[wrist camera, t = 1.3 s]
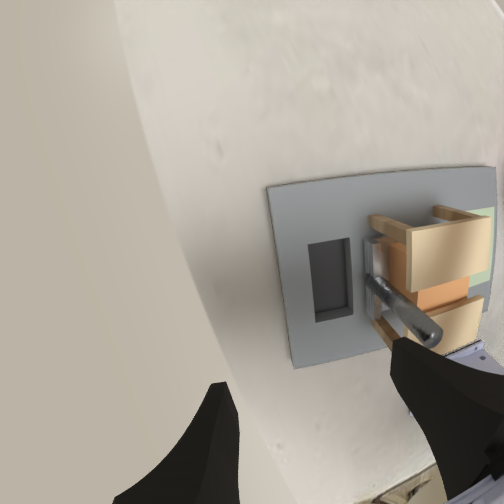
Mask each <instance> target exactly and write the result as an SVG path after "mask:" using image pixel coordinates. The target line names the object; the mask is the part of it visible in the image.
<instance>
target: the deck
mask: <svg viewBox="0 0 504 504" xmlns="http://www.w3.org/2000/svg"><path fill="white" fill-rule="evenodd" d="M266 189H267V195H268V201H269V207H270V213H271V220H272V226H273V232H274V239H275V245H276V252H277V259H278V265H279V272H280V279H281V286H282V293H283V300H284V307H285V315H286V322H287V329H288V337H289V344H290V352H291V359H292V363H293V367H294V369H298V368H303V367H308V366H313V365H318V364H323V363H327V362H332V361H336V360H340V359H344V358H348V357H352V356H356V355H360V354H364V353H368V352H372V351H375V350H379V349H382V348H386V347H388V346H387V345H386V344H385V342H384V341H383V340H382V338H381V337H380V336H379V334H378V333H377V332H376V330H375V329H374V328H373V326H372V325H371V317H370V316H369V315H368V314H367V312H366V284H365V282H364V278H365V255H364V239H366V238H372V237H377V236H383V235H384V234H383V233H381V232H379V231H377V230H375V229H373V228H371V227H369V220H368V215H373V214H380V215H383V216H386V217H388V218H391V219H394V220H396V221H399V222H401V223H404V224H407V225H409V226H412V227H414V228H417V227H422V226H428V225H434V224H439V223H445V222H449V221H446V220H443V219H440V218H437V217H434V216H433V206H435V205H443V206H447V207H451V208H455V209H459V210H462V211H466V212H470V213H473V214H477V215H480V216H484V215H486V216H489V217H491V239H490V254H489V265H488V270H485V271H483V272H480V273H476V274H473V275H470V280H469V288H468V296H467V299H468V298H471V297H473V296H476V295H481V296H482V297H484V302H483V308H482V313H483V312H486V311H487V310H488V305H489V299H490V293H491V286H492V279H493V271H494V262H495V251H496V236H497V181H496V167H489V166H473V167H450V168H432V169H417V170H404V171H392V172H382V173H371V174H362V175H353V176H344V177H336V178H328V179H320V180H312V181H305V182H298V183H291V184H284V185H278V186H271V187H266ZM381 315H382V316H383V317H384V318H385V319H386V320H387V322H388V323H389V324H390V325H391V326H392V327H393V329H394V330H395V331H396V332H397V333H398V334H399V336H400V337H401V338H402V337H403V326H404V324H403V323H402V322H401V321H400V320H399V319H398V317H397V316H396V315H395V314H394V313H393V312H392V311H391V310H390V309H389V310H385V311H381Z"/></svg>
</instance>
